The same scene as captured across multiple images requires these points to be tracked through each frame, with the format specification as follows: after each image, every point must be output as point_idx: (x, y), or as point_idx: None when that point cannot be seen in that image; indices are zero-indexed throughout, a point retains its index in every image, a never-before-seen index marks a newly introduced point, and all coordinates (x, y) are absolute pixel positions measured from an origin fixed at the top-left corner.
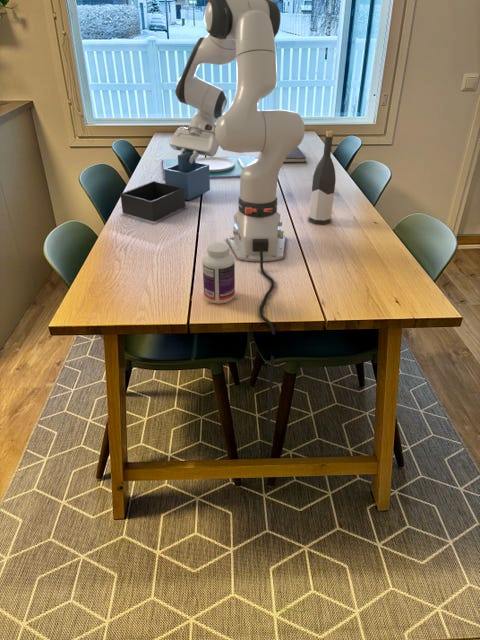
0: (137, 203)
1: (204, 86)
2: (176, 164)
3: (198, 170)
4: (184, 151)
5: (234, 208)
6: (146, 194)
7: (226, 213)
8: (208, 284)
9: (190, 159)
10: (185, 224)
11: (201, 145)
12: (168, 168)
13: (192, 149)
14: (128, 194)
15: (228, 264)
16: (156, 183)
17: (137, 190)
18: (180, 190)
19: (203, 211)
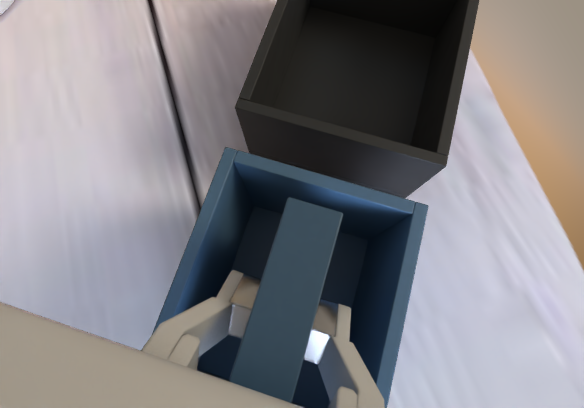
0: None
1: None
2: (395, 352)
3: (178, 272)
4: (333, 400)
5: (49, 213)
6: (427, 120)
7: (76, 153)
8: None
9: (227, 278)
10: (202, 28)
11: (4, 397)
12: (407, 234)
13: (199, 373)
14: (463, 3)
15: None
16: (415, 150)
17: (454, 50)
18: (245, 83)
19: (170, 147)
